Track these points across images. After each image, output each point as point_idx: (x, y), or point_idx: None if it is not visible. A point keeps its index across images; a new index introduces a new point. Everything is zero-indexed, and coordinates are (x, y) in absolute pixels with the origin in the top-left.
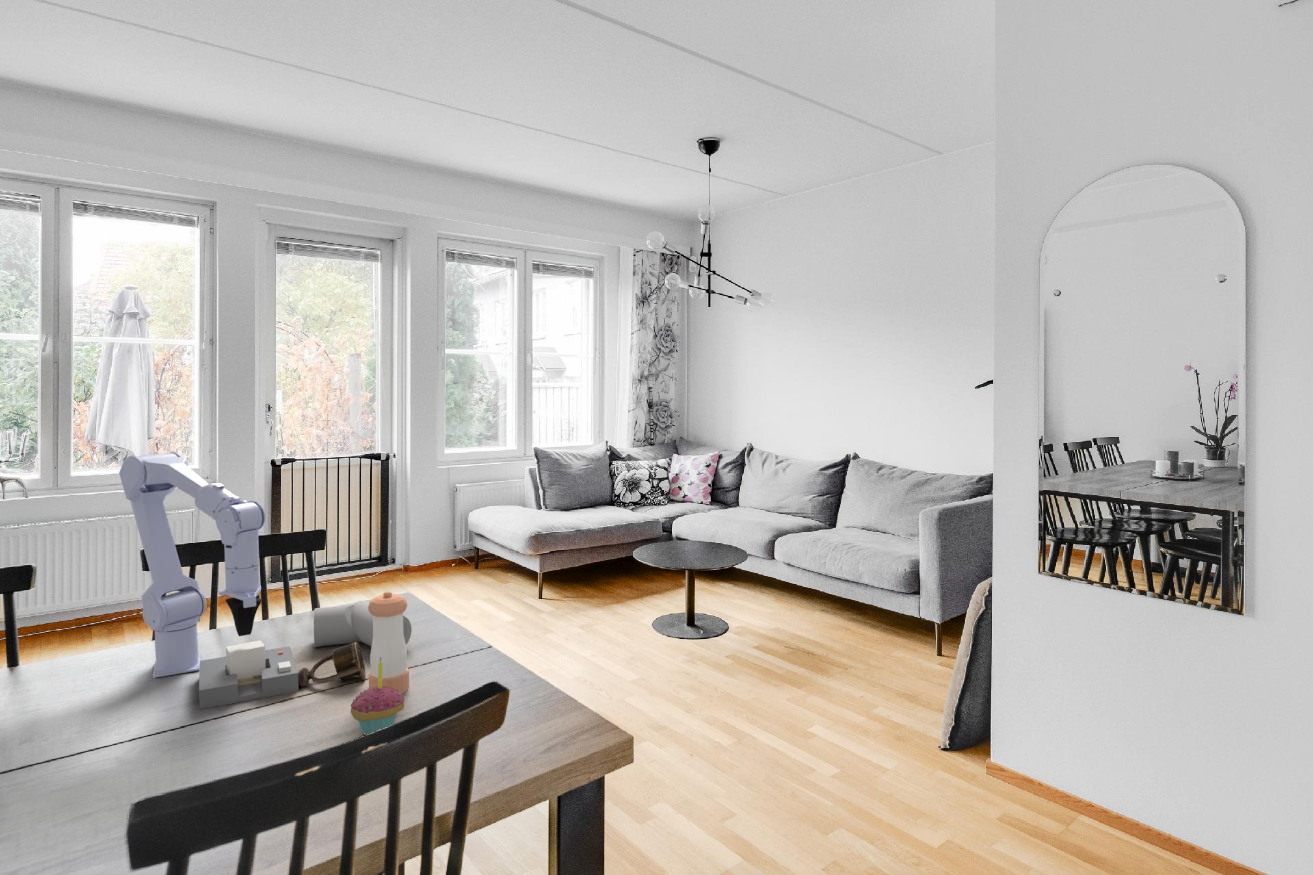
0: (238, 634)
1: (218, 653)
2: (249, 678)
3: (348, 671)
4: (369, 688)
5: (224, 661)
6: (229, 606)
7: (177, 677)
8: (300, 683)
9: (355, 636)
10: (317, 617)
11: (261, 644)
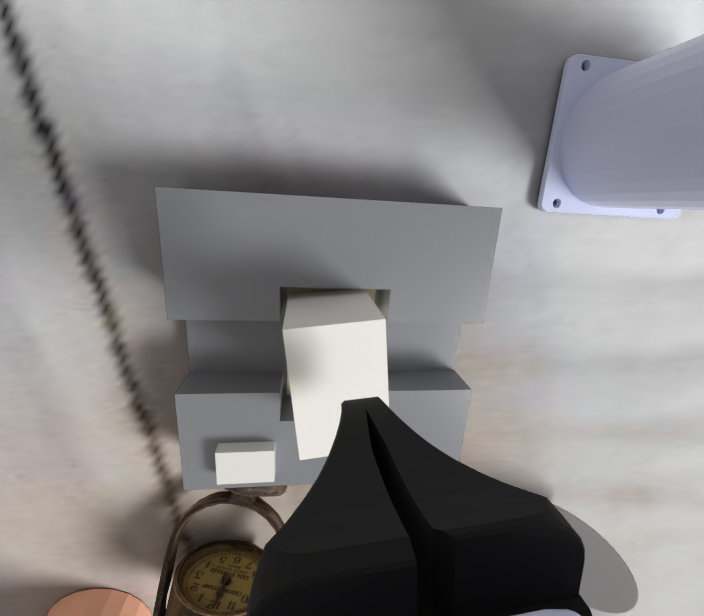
0: (343, 404)
1: (650, 268)
2: None
3: (157, 594)
4: (82, 604)
5: (437, 289)
6: (272, 556)
7: (523, 138)
8: None
9: None
10: None
11: (330, 448)
